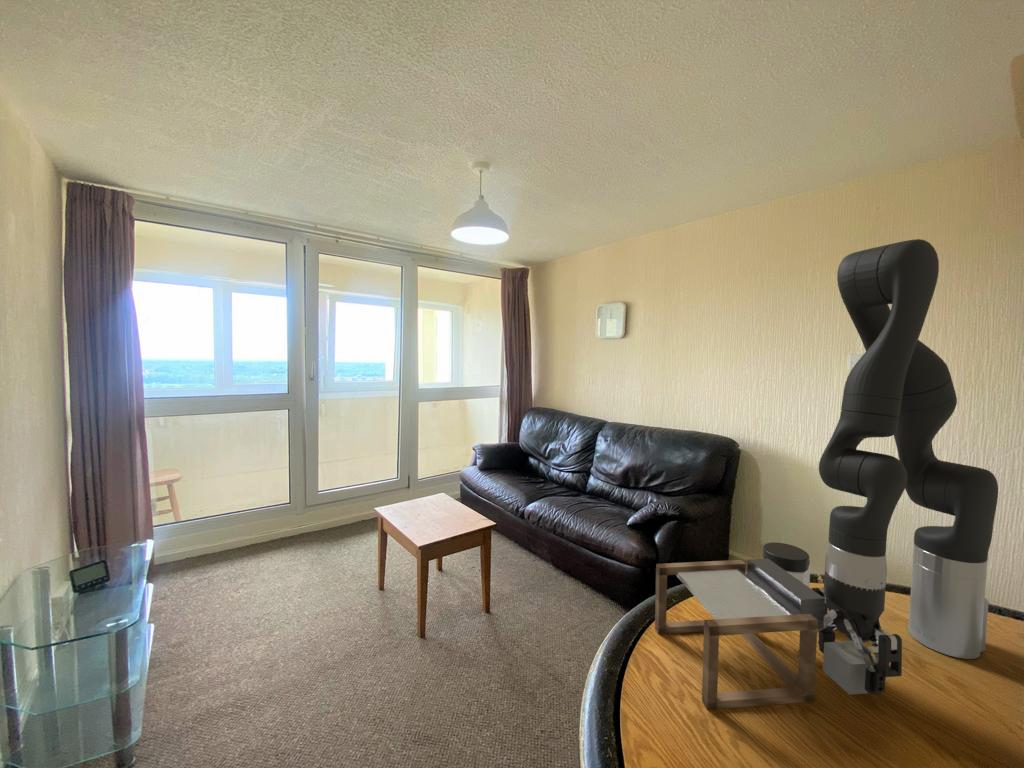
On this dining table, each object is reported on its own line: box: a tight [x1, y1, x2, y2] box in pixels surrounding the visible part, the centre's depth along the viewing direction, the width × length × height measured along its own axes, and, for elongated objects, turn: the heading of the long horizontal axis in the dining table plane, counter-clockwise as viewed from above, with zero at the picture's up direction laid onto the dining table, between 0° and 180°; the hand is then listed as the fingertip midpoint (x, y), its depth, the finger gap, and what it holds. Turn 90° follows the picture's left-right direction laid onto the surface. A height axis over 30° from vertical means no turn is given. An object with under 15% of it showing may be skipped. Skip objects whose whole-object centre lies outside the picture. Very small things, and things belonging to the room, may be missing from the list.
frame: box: [654, 559, 818, 711], centre depth 72 cm, size 17×18×13 cm
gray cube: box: [822, 640, 877, 695], centre depth 67 cm, size 5×5×5 cm
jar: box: [762, 541, 811, 588], centre depth 87 cm, size 9×8×12 cm
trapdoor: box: [676, 558, 825, 630], centre depth 72 cm, size 18×15×5 cm
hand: (848, 671), depth 67 cm, fingers open, 8 cm apart
